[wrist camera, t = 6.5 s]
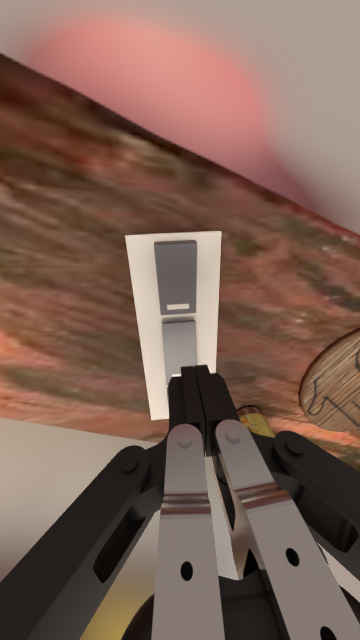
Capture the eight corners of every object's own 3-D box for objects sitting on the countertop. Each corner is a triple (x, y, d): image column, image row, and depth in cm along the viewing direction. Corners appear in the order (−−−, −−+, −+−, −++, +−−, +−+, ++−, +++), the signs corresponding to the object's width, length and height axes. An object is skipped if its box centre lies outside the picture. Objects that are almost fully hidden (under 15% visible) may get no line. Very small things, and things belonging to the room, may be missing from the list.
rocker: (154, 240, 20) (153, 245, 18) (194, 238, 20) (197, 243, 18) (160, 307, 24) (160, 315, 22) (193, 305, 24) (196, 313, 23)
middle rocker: (162, 321, 25) (161, 324, 23) (193, 319, 25) (195, 322, 23) (166, 378, 26) (166, 384, 25) (196, 375, 27) (198, 382, 25)
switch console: (132, 234, 25) (125, 235, 20) (213, 230, 25) (224, 230, 21) (153, 396, 36) (151, 420, 32) (209, 391, 37) (215, 414, 32)
